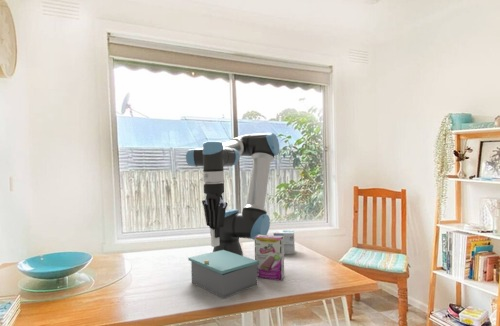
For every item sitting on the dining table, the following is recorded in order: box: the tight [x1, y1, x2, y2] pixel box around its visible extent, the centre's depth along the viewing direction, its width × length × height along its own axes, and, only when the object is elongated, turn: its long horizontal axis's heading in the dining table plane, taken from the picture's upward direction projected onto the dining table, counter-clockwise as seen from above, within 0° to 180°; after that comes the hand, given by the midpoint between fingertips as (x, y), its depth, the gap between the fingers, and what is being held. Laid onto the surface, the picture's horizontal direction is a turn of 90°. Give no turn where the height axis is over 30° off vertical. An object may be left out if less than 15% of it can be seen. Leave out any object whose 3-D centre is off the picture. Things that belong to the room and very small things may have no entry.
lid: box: [187, 250, 258, 274], centre depth 114 cm, size 21×17×2 cm
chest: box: [190, 261, 258, 299], centre depth 114 cm, size 20×16×8 cm
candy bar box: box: [254, 234, 285, 281], centre depth 120 cm, size 11×5×16 cm, turn 71°
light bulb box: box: [272, 229, 296, 255], centre depth 154 cm, size 11×7×11 cm, turn 84°
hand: (215, 245), depth 112 cm, fingers closed
